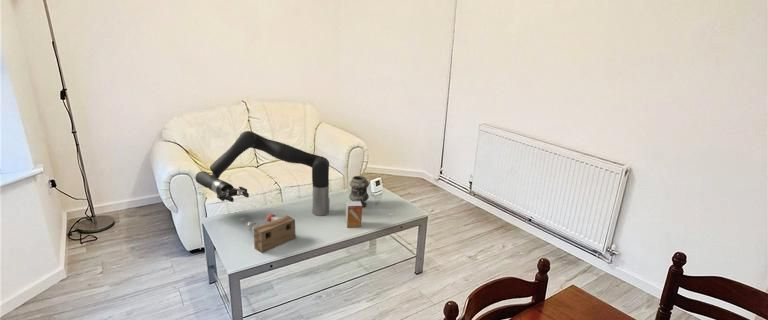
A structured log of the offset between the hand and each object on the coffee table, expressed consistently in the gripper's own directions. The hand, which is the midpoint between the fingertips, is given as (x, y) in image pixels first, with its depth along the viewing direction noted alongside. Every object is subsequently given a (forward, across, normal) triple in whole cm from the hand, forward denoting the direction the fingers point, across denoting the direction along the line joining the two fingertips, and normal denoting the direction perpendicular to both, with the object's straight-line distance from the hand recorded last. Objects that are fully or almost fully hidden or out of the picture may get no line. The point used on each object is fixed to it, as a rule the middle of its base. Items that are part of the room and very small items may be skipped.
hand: (240, 197), depth 209 cm
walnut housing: (+19, +6, +20) cm, 29 cm away
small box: (+33, +48, +19) cm, 62 cm away
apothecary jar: (+17, +71, +19) cm, 75 cm away
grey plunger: (+13, 0, +14) cm, 20 cm away
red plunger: (+13, +12, +14) cm, 23 cm away
